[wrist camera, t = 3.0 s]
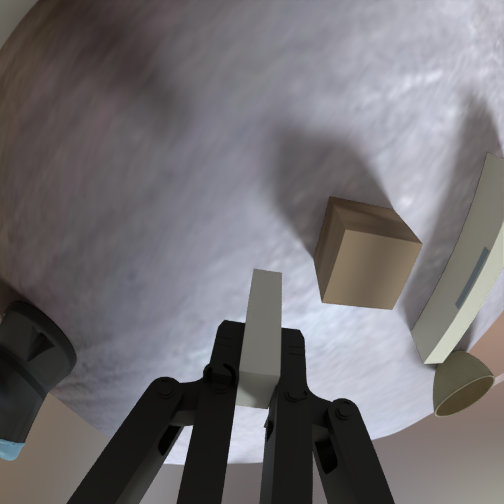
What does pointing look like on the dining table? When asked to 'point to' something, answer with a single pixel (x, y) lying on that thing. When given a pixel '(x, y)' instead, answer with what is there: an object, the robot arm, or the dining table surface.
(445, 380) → the flower pot
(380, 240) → the block
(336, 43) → the dining table surface
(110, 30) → the dining table surface
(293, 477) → the robot arm
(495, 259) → the board
